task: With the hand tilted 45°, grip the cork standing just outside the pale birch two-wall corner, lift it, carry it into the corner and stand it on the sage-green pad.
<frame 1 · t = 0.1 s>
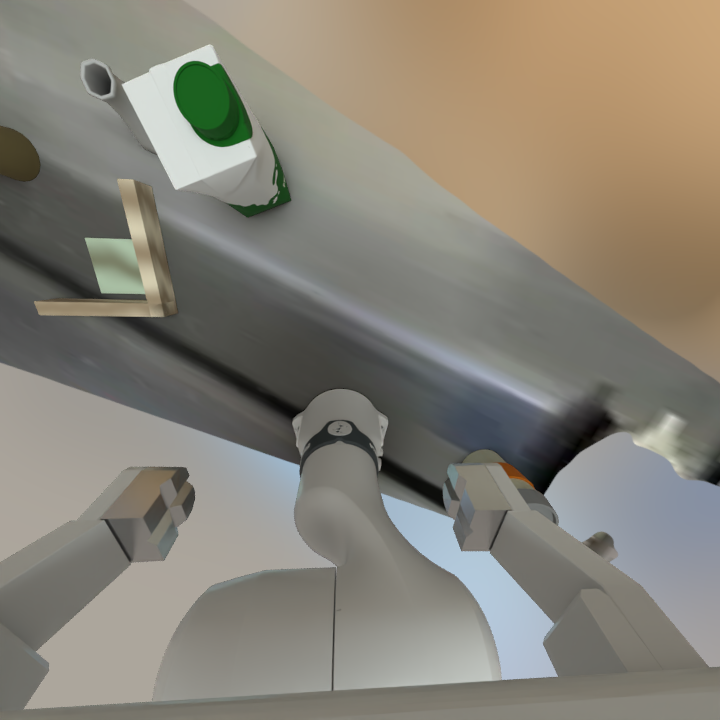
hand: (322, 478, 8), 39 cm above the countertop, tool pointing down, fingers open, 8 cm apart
milk carton: (258, 183, 39), on the countertop
flask: (163, 128, 36), on the countertop
corner arena: (104, 252, 40), on the countertop
reusable coffee cup: (480, 465, 59), on the countertop
cork: (16, 155, 36), on the countertop
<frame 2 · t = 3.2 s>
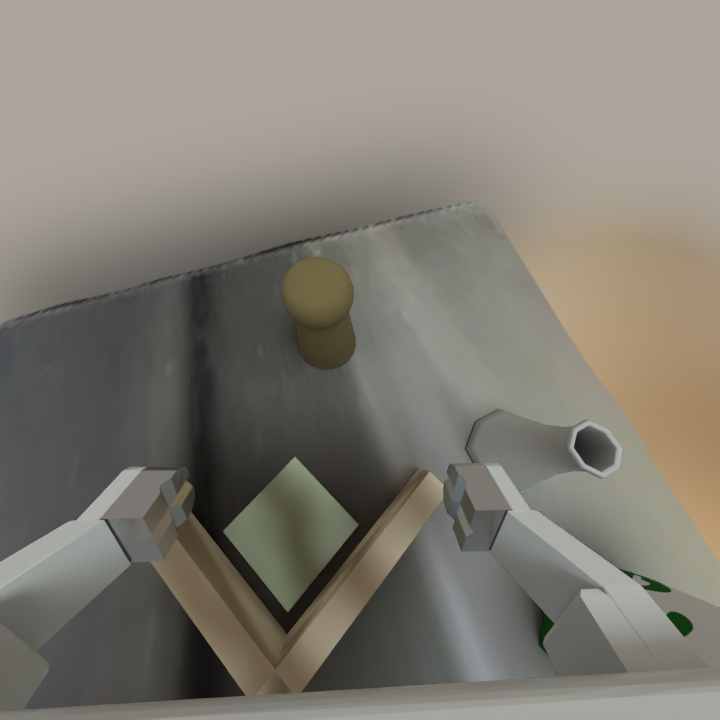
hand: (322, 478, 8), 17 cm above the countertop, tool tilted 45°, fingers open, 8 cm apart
milk carton: (586, 612, 22), on the countertop
flask: (503, 449, 26), on the countertop
corner arena: (293, 490, 23), on the countertop
cork: (327, 343, 28), on the countertop
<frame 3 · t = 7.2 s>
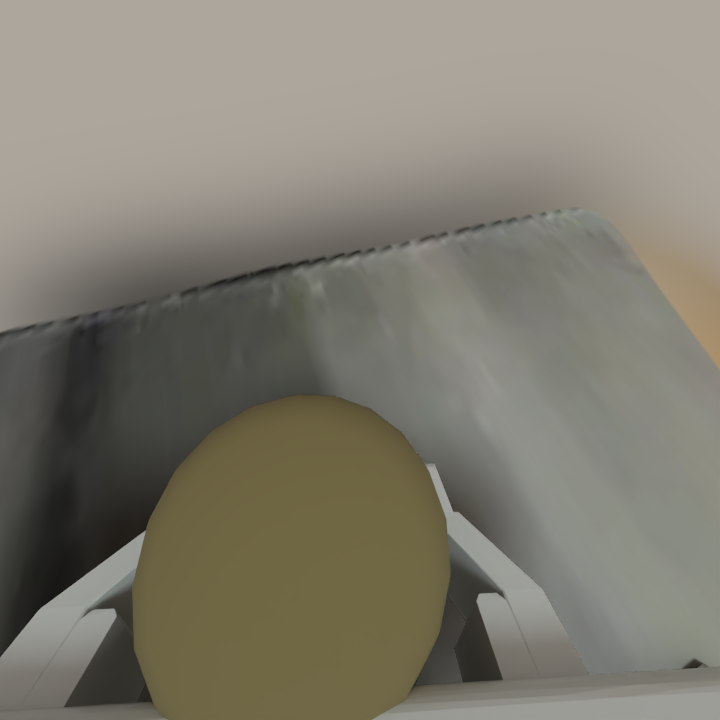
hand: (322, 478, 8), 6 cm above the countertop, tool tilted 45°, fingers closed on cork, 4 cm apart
cork: (330, 480, 14), on the countertop, touching gripper
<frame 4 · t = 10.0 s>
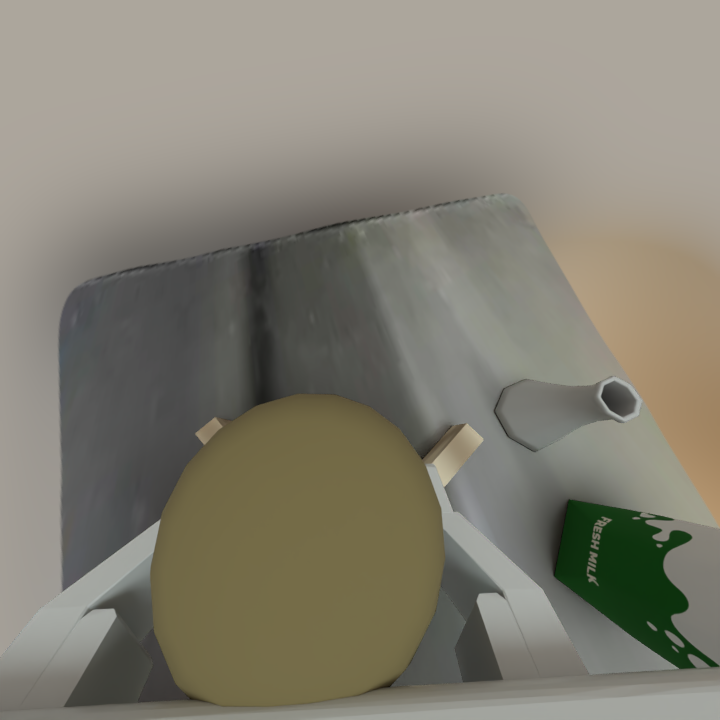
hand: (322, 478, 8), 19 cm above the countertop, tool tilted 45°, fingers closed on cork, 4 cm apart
milk carton: (595, 552, 25), on the countertop
flask: (527, 414, 29), on the countertop
corner arena: (343, 437, 27), on the countertop
cork: (327, 476, 14), point 12 cm above the countertop, touching gripper
when the fingers open (7 cm above the countertop, at t = 12.8 s): cork moves 3 cm, resting on corner arena.
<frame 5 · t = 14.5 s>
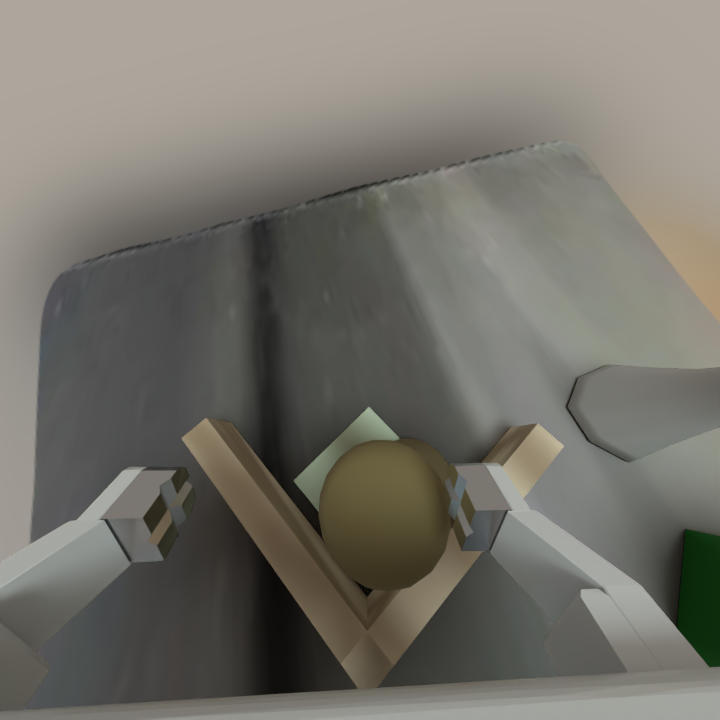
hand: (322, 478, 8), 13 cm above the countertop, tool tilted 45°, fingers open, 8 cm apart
flask: (612, 411, 22), on the countertop
corner arena: (368, 443, 21), on the countertop
cork: (410, 481, 19), point 1 cm above the countertop, touching corner arena
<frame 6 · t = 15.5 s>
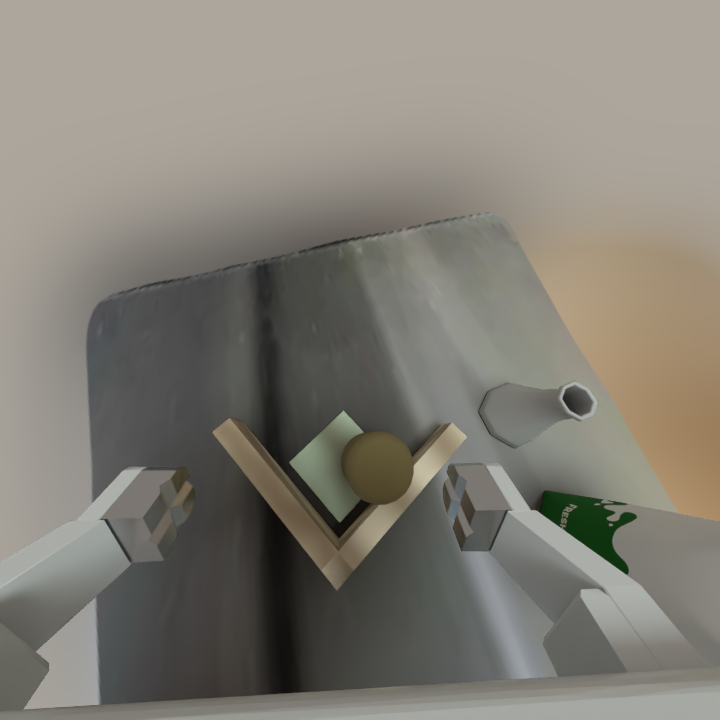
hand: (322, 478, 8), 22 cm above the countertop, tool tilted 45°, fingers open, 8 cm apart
milk carton: (567, 538, 28), on the countertop
flask: (508, 414, 32), on the countertop
corner arena: (342, 436, 30), on the countertop
cork: (368, 460, 29), resting on corner arena
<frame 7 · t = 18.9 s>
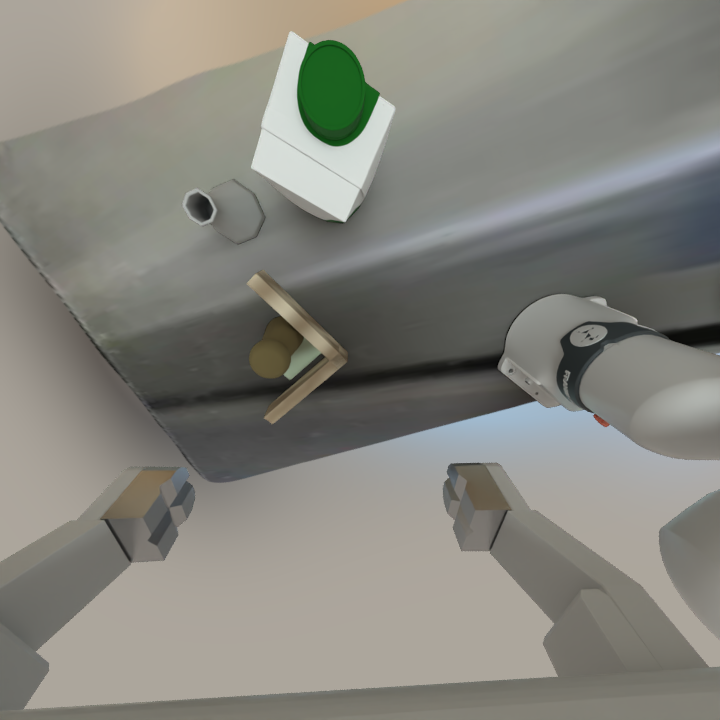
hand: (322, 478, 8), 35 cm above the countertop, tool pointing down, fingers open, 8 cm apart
milk carton: (332, 182, 35), on the countertop
flask: (236, 213, 36), on the countertop
corner arena: (271, 349, 44), on the countertop
cork: (285, 333, 43), resting on corner arena
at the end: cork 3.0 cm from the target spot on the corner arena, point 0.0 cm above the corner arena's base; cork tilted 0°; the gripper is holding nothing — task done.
